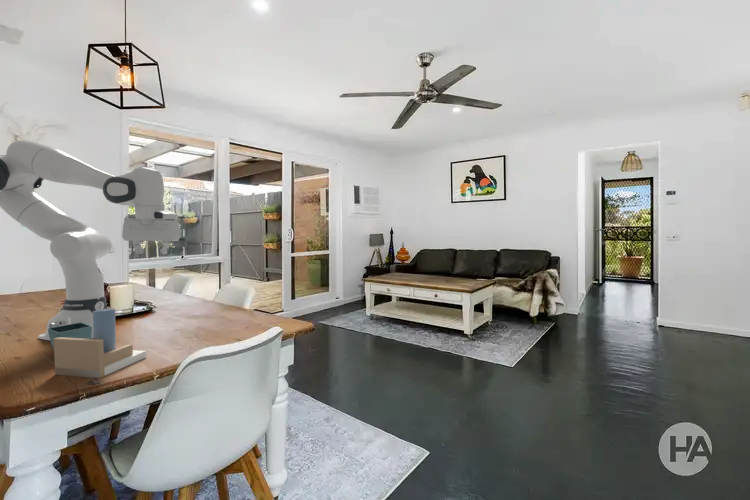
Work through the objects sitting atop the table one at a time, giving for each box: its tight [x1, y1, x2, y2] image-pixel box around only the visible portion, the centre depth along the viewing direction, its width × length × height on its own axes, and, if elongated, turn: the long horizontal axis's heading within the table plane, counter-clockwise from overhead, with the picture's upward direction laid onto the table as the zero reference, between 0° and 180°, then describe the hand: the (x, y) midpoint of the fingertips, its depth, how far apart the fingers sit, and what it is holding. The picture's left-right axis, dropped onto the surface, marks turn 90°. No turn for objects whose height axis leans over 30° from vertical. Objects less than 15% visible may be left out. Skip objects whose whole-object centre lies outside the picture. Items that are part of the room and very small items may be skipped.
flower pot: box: [48, 322, 92, 349], centre depth 114 cm, size 9×9×9 cm
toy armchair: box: [53, 337, 147, 379], centre depth 105 cm, size 14×16×10 cm
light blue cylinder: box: [92, 308, 117, 353], centre depth 105 cm, size 5×5×14 cm
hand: (151, 254), depth 127 cm, fingers open, 8 cm apart
